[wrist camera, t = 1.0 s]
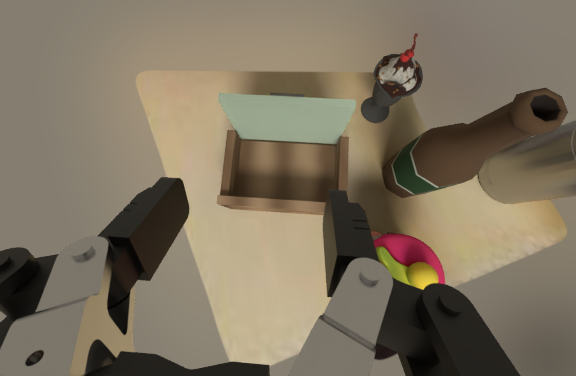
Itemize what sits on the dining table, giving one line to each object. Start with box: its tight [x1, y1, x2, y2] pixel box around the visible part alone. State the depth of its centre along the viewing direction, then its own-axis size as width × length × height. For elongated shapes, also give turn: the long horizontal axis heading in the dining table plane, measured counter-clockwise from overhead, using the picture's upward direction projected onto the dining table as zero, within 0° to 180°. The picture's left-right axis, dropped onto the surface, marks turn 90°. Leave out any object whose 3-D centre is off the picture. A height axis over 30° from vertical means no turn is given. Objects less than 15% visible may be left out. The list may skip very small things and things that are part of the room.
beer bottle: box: [382, 88, 568, 198], centre depth 30 cm, size 8×8×24 cm
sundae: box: [361, 34, 423, 123], centre depth 37 cm, size 7×7×15 cm
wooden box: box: [217, 130, 349, 215], centre depth 38 cm, size 18×11×8 cm, turn 86°
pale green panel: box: [218, 93, 356, 144], centre depth 35 cm, size 16×2×12 cm, turn 86°
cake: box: [371, 231, 445, 290], centre depth 32 cm, size 10×11×15 cm
